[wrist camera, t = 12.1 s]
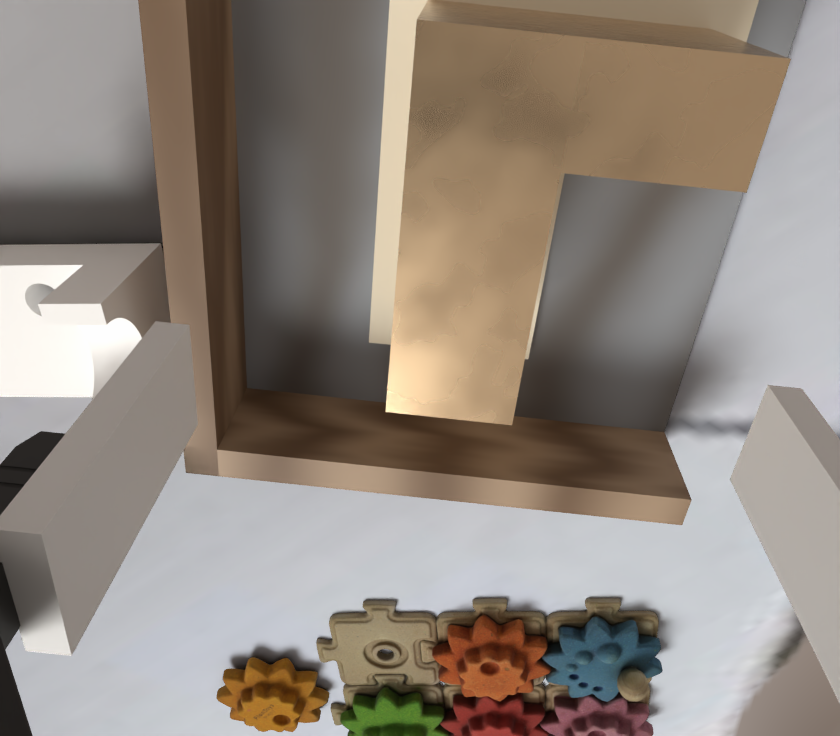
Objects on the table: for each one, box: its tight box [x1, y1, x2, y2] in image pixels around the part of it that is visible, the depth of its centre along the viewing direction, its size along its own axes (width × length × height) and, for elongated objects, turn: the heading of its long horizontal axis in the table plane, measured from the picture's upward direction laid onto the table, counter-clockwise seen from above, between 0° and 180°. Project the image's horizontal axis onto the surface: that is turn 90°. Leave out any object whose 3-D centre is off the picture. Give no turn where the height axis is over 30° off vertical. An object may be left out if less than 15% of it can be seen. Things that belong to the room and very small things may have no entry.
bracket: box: [0, 243, 171, 400], centre depth 34 cm, size 13×7×8 cm, turn 92°
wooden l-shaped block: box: [386, 0, 791, 425], centre depth 28 cm, size 14×11×8 cm
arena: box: [138, 0, 806, 525], centre depth 31 cm, size 24×24×6 cm
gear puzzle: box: [217, 598, 662, 736], centre depth 50 cm, size 31×16×4 cm, turn 94°
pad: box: [369, 0, 759, 359], centre depth 32 cm, size 14×17×1 cm
